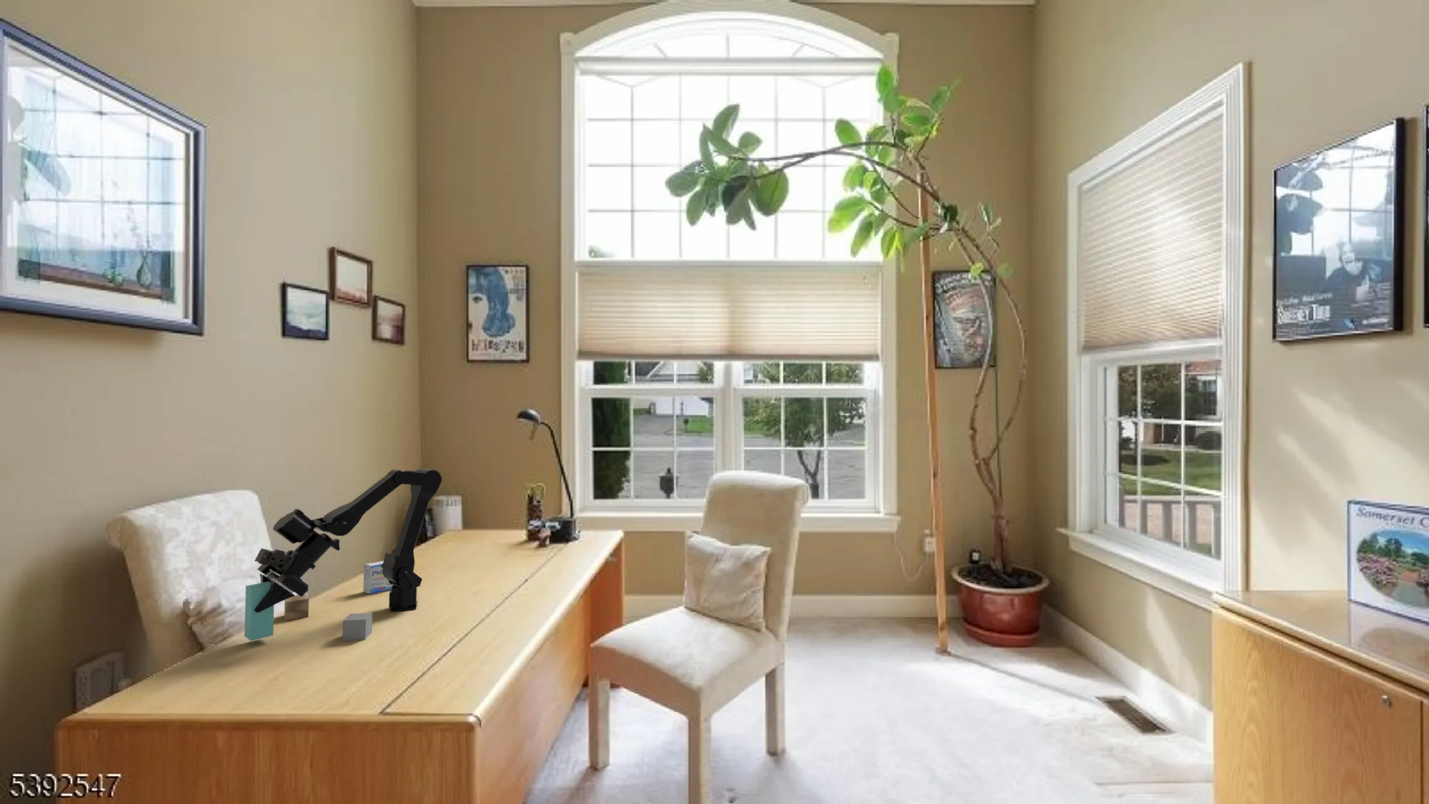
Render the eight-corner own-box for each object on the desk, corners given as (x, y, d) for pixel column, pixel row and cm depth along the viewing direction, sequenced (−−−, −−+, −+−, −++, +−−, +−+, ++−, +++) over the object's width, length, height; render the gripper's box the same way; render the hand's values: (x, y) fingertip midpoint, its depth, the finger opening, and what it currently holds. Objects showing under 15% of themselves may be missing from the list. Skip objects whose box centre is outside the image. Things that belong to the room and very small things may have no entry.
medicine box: (369, 595, 183) (370, 566, 183) (362, 592, 185) (363, 563, 185) (396, 589, 189) (396, 561, 189) (389, 586, 192) (390, 558, 192)
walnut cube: (306, 612, 167) (307, 593, 167) (308, 617, 163) (308, 598, 163) (284, 615, 164) (284, 597, 164) (285, 621, 160) (286, 602, 160)
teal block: (267, 630, 149) (268, 581, 149) (273, 635, 146) (274, 585, 146) (244, 636, 145) (245, 585, 145) (250, 640, 142) (251, 589, 142)
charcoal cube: (371, 632, 153) (372, 612, 153) (365, 639, 148) (366, 619, 148) (349, 633, 152) (350, 613, 152) (342, 641, 147) (343, 620, 147)
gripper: (268, 530, 155) (212, 583, 146) (293, 541, 143) (234, 599, 134) (303, 555, 161) (251, 607, 152) (330, 568, 149) (276, 625, 140)
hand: (252, 609), depth 144 cm, fingers closed on teal block, 4 cm apart
